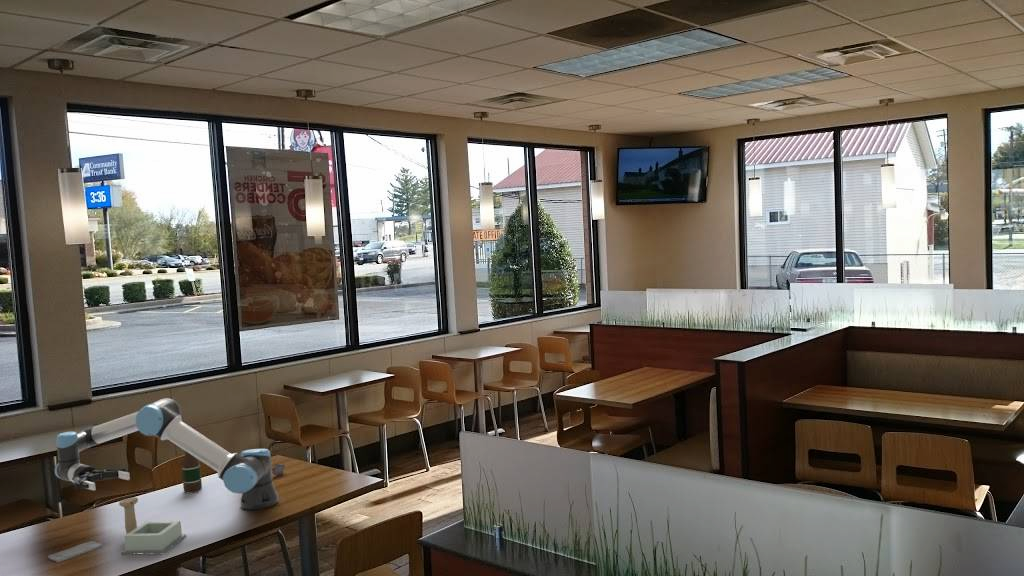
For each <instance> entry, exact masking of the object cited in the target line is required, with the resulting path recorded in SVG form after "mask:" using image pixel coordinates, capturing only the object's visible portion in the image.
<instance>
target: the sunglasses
mask: <svg viewBox="0 0 1024 576" xmlns="http://www.w3.org/2000/svg"><path fill="white" fill-rule="evenodd" d="M271 468H272V475H274V476H276V477H278V476H279V477H280V476H281V475H283V472H284V469H285V464H281V463H277V464H276V463H275V464H273V465H272V464H271Z"/></svg>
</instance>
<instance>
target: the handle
mask: <svg viewBox="0 0 1024 576" xmlns="http://www.w3.org/2000/svg"><path fill="white" fill-rule="evenodd" d="M138 501H139V498H138V497H136V496H134V497H129V498H124V499H121V500H120V501H118V503H119V506H120V507H123V509H124V527H125V533H126V534H128V533H129V532H131V531H132V530H134V529H135V528H137V527H138V524H137V517H136V511H135V504H137V503H138ZM126 534H125V535H126Z"/></svg>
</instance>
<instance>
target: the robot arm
mask: <svg viewBox="0 0 1024 576" xmlns="http://www.w3.org/2000/svg"><path fill="white" fill-rule="evenodd" d="M181 414H182V409H181V406H180V404H179V403H178V402H177V401H176V400H175V399H173V398H161V399H159V400H156V401H155V402H152V403H149V404H146V405H145V406H143V407H142V408H140V409H139V410H138V411H135V412H133V413H130V414H127V415H124V416H122V417H119V418H115V419H112V420H109V421H107V422H103V423H102V424H101V423H100V424H98V425H95V426H93V427H87V428H85V429H82V430H81V431H79V432H77V431H66V432H62V433H58V435H57V436H56V450H57V461H58V462H57V464H56V465H55V468H54V474H55V476H56V477H57V478H58V479H61V481H62V480H63V481H67V482H71V483H72V485H74V487H73V488H74V490H76V491H77V490H79V489H80V491H84V490H85V489H86V490H90V491H96V483H95V482H97V481H103V480H104V479H110V478H112V479H113V478H118V479H121V480H125V481H130V480H131V477H130V472H127V471H126V470H127V469H126V468H122V467H121V468H106V467H105V468H103V469H102V470H98V469H96V468H95V467H93V466H91V465H88V464H84V463H81V462H80V452H82V451H84V450H86V449H88V448H91V447H94V446H97V445H100V444H102V443H105V442H108V441H110V440H111V441H112V440H114V439H117V438H120V437H123V436H126V435H129V434H133V433H134V432H138V431H139V432H140V433H141V434H143V436H150V437H151V436H155V437H156V438H158V439H159V440H161V441H166V440H169V442H172V444H175V446H177V447H179V448H180V449H182V450H183V451H184V452H185V451H186V452H188V453H189V454H191V455H192V456H194V457H196V458H197V459H199V462H202V463H203V464H205V465H206V466H208V467H209V468H211V469H213V471H216V473H217V477H218V478H219V479H220V480H222V481H223V484H224V487H225V488H226V489H227V490H228V491H229V492H231V493H234V494H241V497H240V507H241V509H243V510H250V511H252V510H260V509H265V508H269V507H272V506H275V505H276V504H278V503H279V495H278V492H277V490H276V488H275V485H274V482H273V470H272V469H273V467H272V468H271V466H272V456H271V451H270V450H269V449H268V448H252V449H246V450H243V451H241V452H240V453H238V452H234V453H231V452H229V451H228V450H226V449H224V448H223V447H221V446H220V445H218V444H217V443H216V442H214V441H213V440H211V439H210V438H208V437H206V436H205V435H204V434H202V433H200V431H197V430H196V429H194V428H193V427H192V426H190V425H188V423H185V422H183V421H182V415H181Z"/></svg>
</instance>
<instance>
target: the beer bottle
mask: <svg viewBox="0 0 1024 576" xmlns="http://www.w3.org/2000/svg"><path fill="white" fill-rule="evenodd" d="M200 463H201V461H200V460H199V459H197V458H196V457H194V456H192V455H191V454H189V453H188V452H186V451H185V450H184V457H183V459H182V462H181V474H182V475H181V476H182V485H183V491H185V492H184V493H186V492H192V493H196V492H195V491H197V492H199V491H198V490H200V491H201V490H202V488H203V485H202V472H201V464H200Z"/></svg>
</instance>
